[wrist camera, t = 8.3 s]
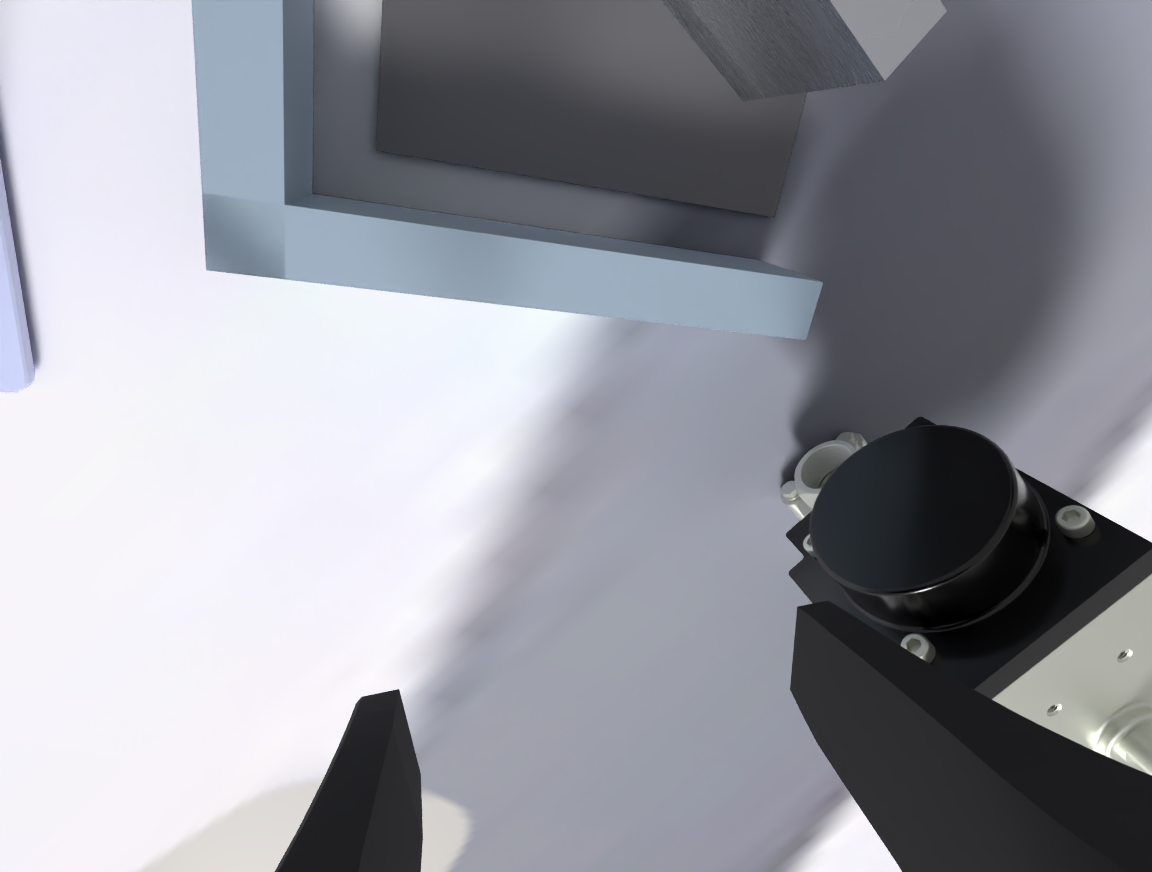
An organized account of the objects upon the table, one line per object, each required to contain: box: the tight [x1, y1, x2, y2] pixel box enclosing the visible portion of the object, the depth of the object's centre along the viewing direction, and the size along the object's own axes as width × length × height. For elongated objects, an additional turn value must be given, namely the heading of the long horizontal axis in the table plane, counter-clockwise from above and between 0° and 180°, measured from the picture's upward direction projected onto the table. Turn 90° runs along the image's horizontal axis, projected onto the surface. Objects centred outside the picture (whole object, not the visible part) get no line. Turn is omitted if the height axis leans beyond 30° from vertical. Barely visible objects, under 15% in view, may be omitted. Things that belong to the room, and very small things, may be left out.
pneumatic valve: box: [781, 417, 1152, 775], centre depth 18 cm, size 6×12×12 cm, turn 43°
